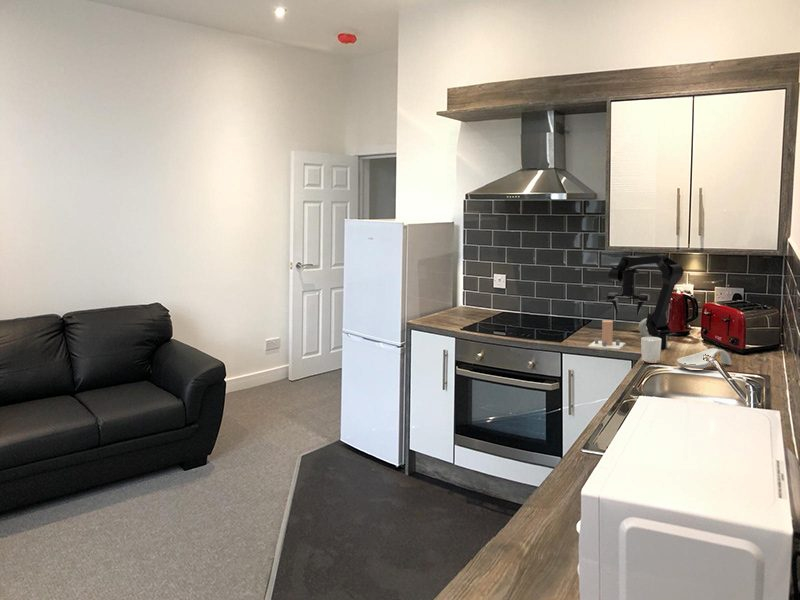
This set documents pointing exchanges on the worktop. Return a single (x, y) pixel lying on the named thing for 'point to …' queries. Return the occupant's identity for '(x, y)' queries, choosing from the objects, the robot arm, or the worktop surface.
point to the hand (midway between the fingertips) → (627, 314)
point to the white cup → (650, 348)
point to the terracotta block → (607, 331)
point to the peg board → (598, 344)
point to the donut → (644, 328)
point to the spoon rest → (699, 360)
